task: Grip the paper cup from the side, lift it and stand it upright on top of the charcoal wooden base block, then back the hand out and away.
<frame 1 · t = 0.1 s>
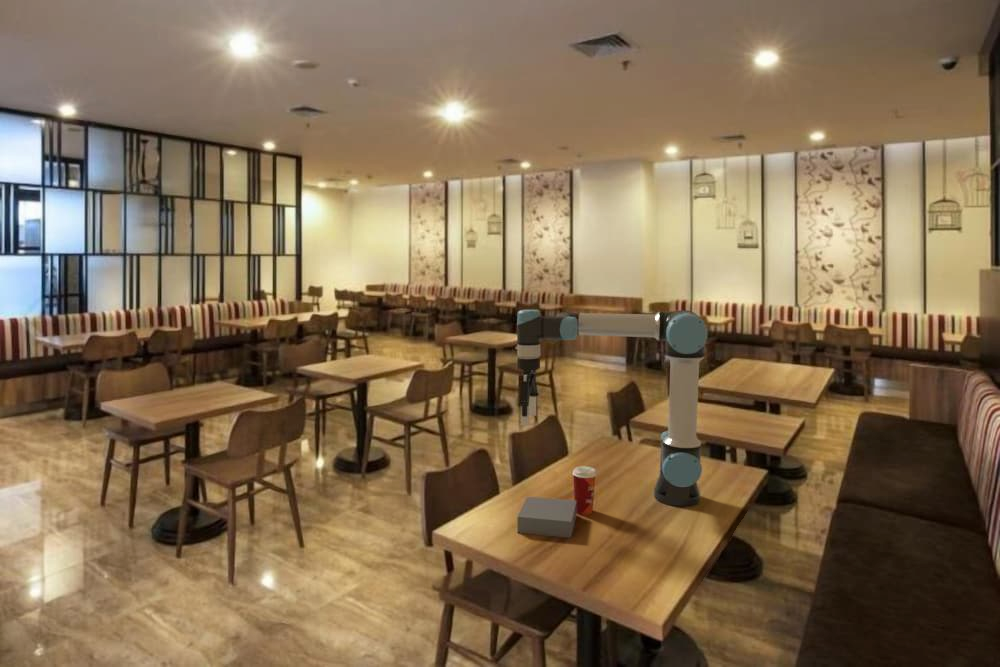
hand: (528, 420, 209), 28 cm above the table, tool pointing down, fingers open, 13 cm apart
base block: (547, 524, 194), on the table
paper cup: (583, 511, 204), on the table
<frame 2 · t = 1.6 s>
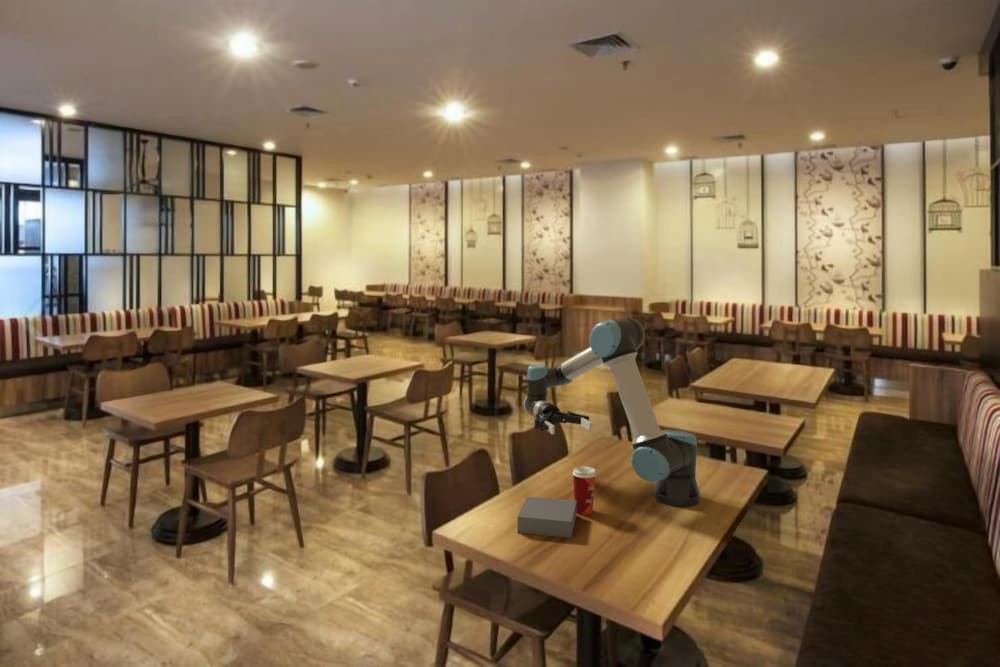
hand: (572, 428, 210), 25 cm above the table, tool horizontal, fingers open, 13 cm apart
nothing on the table moved.
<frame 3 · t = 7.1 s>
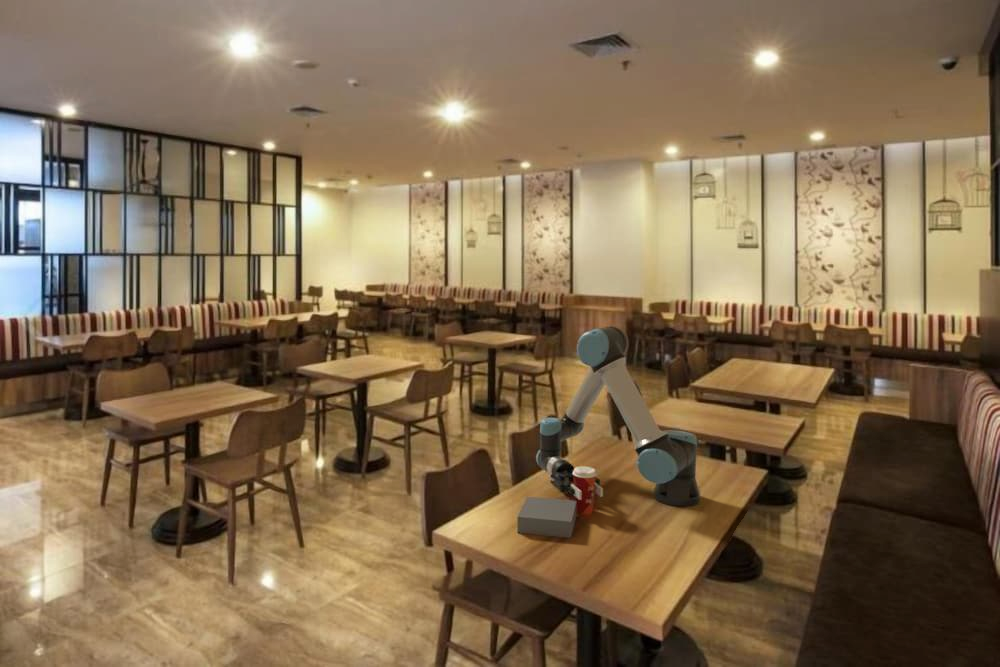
hand: (591, 494, 198), 8 cm above the table, tool horizontal, fingers closed on paper cup, 7 cm apart
paper cup: (583, 511, 204), on the table, touching gripper
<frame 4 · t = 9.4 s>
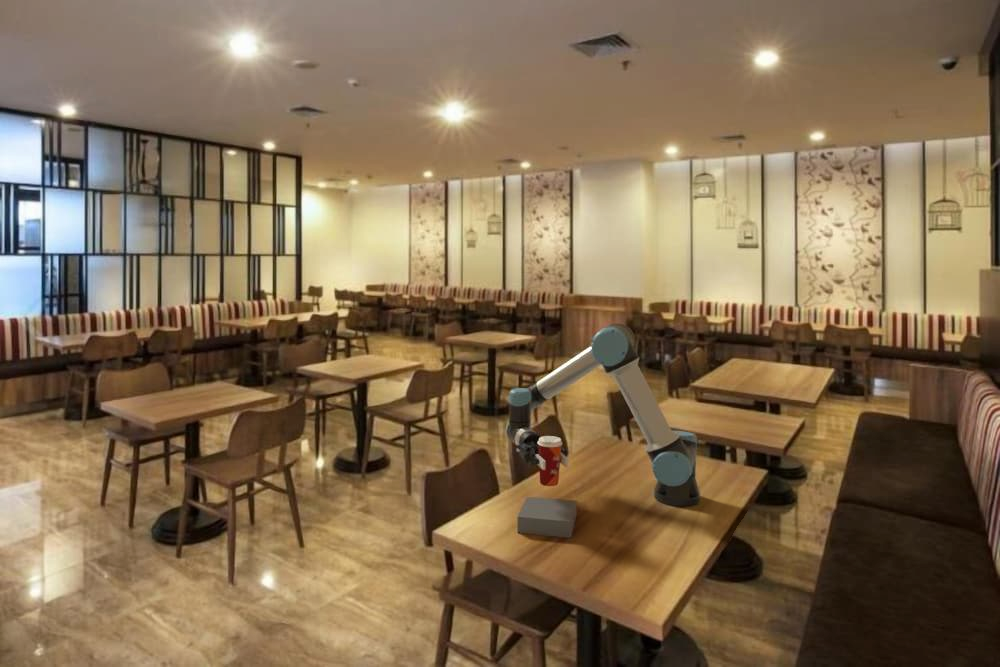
hand: (555, 464, 188), 20 cm above the table, tool horizontal, fingers closed on paper cup, 7 cm apart
paper cup: (549, 483, 194), point 12 cm above the table, touching gripper
when the fingers open (14 cm above the table, at t = 11.7 s): paper cup drops 1 cm, resting on base block.
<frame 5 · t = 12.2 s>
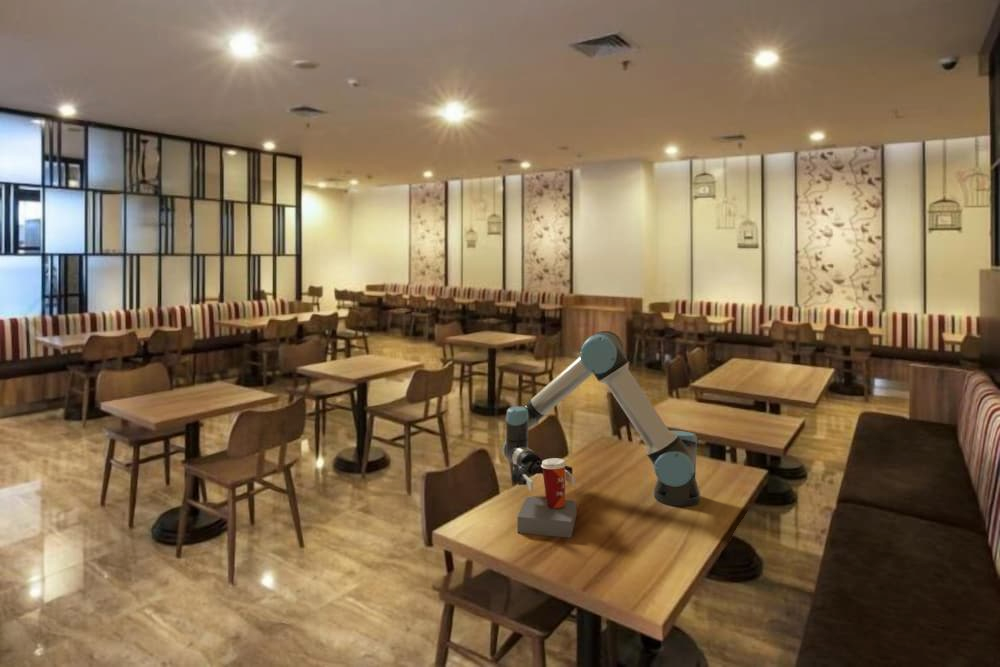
hand: (552, 483, 189), 14 cm above the table, tool horizontal, fingers open, 13 cm apart
paper cup: (556, 505, 196), point 5 cm above the table, touching base block
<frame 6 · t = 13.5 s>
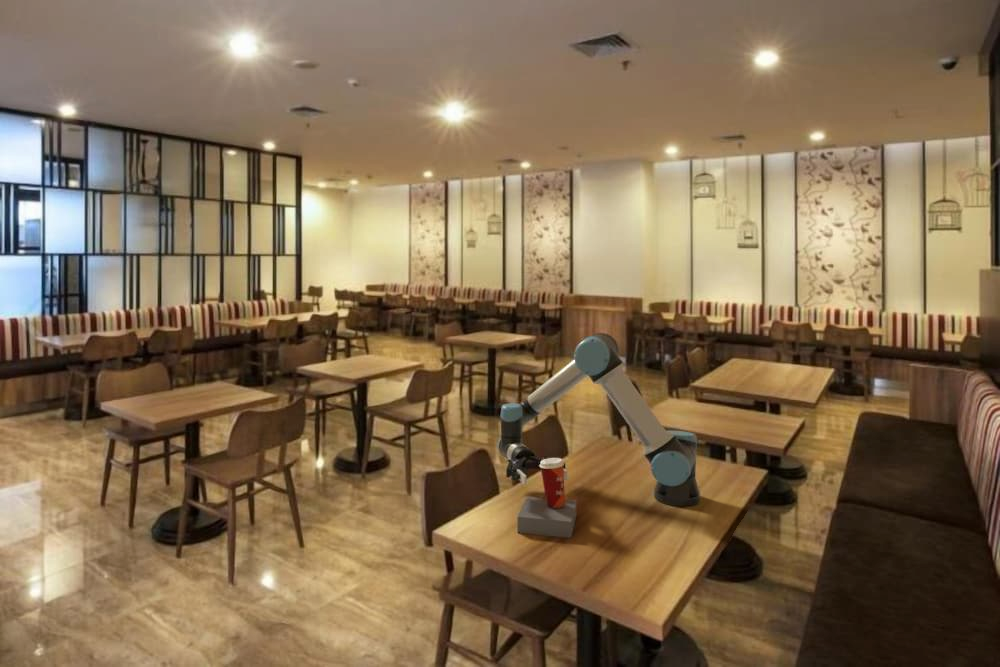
hand: (546, 478, 193), 14 cm above the table, tool horizontal, fingers open, 13 cm apart
paper cup: (556, 505, 196), point 5 cm above the table, touching base block, gripper
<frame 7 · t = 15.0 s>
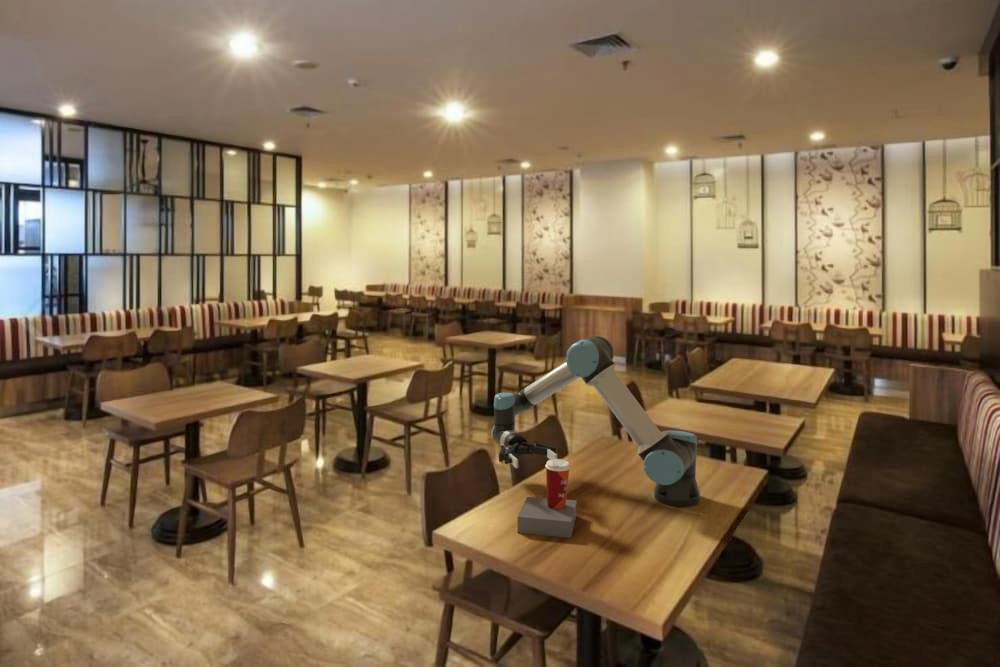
hand: (536, 461, 202), 17 cm above the table, tool horizontal, fingers open, 13 cm apart
paper cup: (556, 506, 196), point 5 cm above the table, touching base block
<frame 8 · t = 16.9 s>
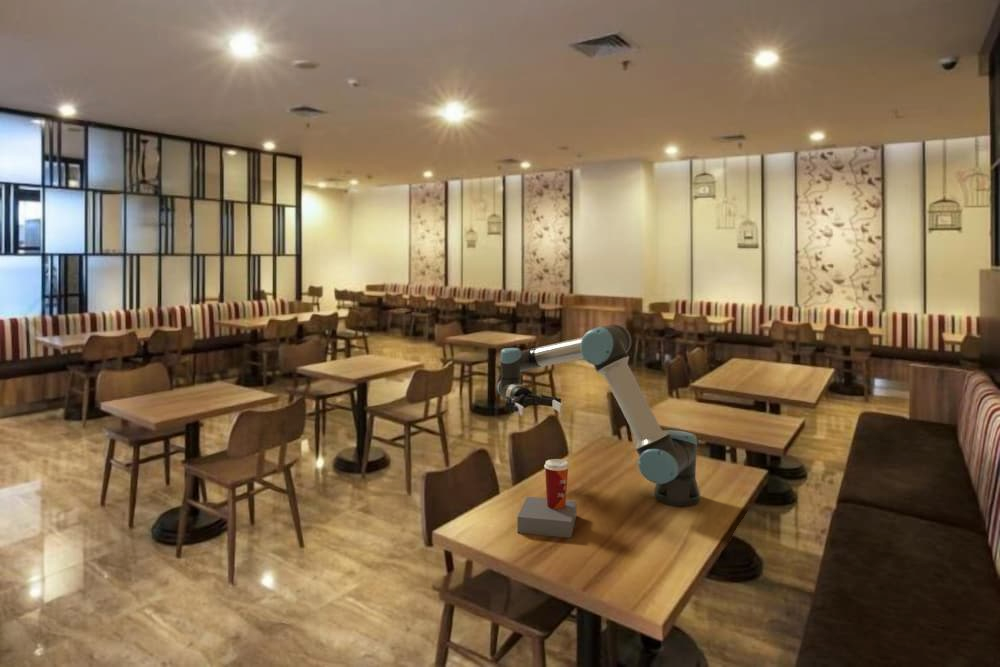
hand: (542, 410, 206), 32 cm above the table, tool horizontal, fingers open, 13 cm apart
nothing on the table moved.
at the end: paper cup inside the target area on the base block (3.3 cm from its centre), point 4.8 cm above the base block's base; paper cup tilted 0°; the gripper is holding nothing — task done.
